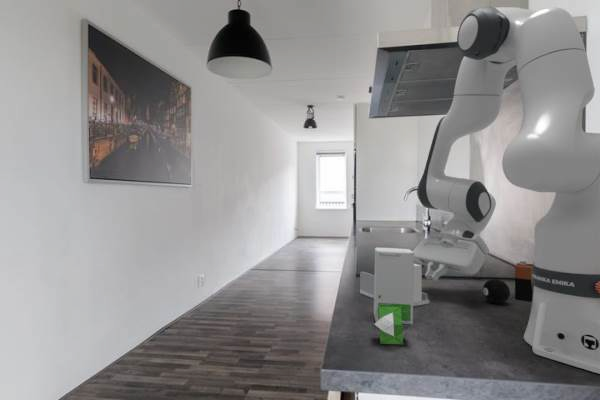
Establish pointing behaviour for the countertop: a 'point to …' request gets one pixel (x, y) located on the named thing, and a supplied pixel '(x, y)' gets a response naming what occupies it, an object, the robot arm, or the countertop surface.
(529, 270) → the battery
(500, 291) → the billiard ball
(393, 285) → the skincare box
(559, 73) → the robot arm
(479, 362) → the countertop surface
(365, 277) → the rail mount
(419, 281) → the block
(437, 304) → the countertop surface
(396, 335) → the geometric puzzle
